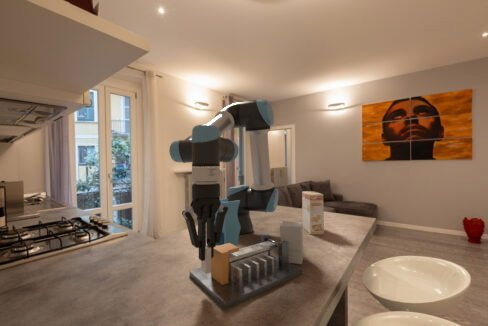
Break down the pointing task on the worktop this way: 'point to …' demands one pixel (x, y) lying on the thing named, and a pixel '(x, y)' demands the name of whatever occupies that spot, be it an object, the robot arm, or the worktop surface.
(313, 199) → the coffeecake box
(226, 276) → the lug slider
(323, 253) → the worktop surface
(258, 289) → the heatsink
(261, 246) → the strap
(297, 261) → the supplement box
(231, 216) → the vase
